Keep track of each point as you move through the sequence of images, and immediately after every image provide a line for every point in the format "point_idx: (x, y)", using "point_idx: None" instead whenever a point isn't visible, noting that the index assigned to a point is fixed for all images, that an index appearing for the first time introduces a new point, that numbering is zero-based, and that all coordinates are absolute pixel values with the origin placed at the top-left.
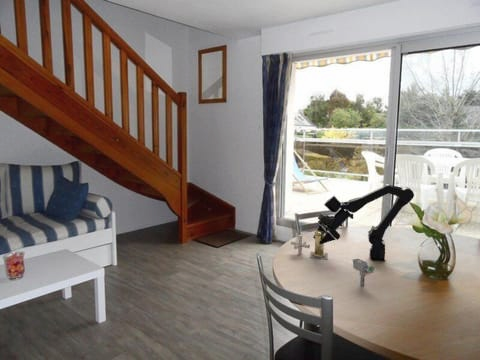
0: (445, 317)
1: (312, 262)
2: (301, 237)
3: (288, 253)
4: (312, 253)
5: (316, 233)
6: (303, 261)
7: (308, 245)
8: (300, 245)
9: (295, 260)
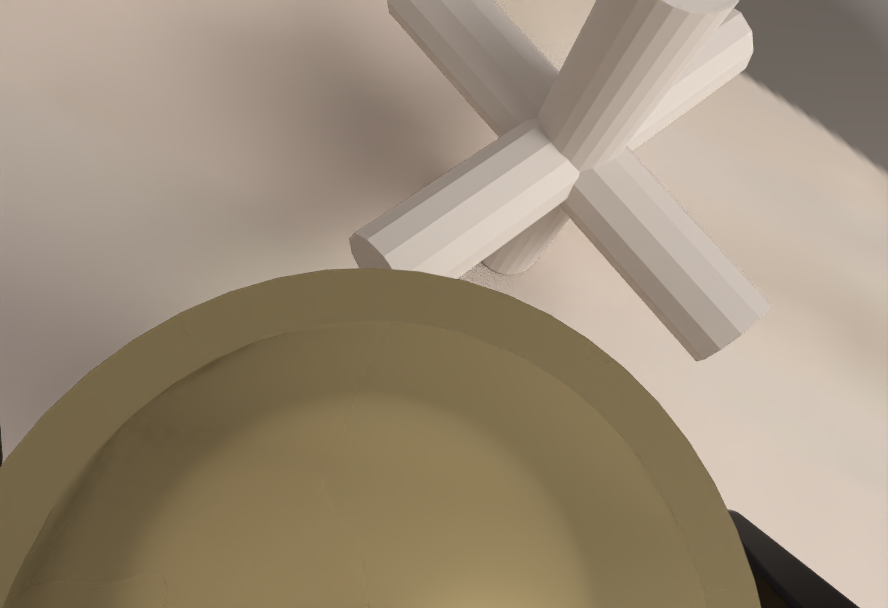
0: None
1: (25, 268)
2: (609, 12)
3: None
4: None
5: (221, 305)
6: (142, 142)
7: (365, 236)
8: (501, 118)
9: (237, 48)
